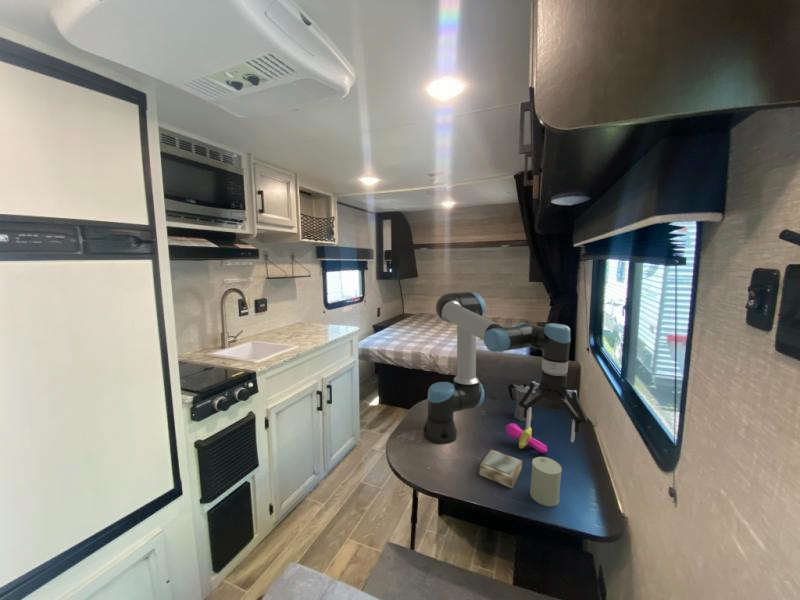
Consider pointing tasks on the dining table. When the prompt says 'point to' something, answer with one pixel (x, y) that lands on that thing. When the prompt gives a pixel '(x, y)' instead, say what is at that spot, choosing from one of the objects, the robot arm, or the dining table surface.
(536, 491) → the can
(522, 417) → the coffeepot
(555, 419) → the dining table surface
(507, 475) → the pedestal
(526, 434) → the toy
